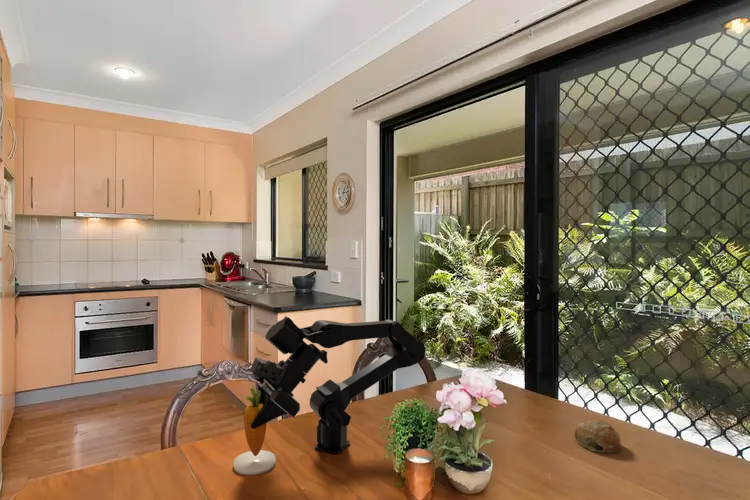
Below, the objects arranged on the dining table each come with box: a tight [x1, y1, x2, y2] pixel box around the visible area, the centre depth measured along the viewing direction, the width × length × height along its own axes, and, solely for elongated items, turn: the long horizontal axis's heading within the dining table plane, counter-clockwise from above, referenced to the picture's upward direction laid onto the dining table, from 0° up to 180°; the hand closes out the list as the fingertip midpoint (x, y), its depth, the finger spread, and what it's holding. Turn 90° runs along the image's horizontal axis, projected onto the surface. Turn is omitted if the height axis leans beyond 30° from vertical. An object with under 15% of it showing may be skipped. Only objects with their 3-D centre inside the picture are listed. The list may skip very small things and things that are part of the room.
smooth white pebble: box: [232, 449, 277, 476], centre depth 98 cm, size 9×9×1 cm
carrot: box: [243, 387, 268, 456], centre depth 98 cm, size 5×5×15 cm
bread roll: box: [574, 418, 621, 454], centre depth 109 cm, size 10×10×8 cm
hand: (249, 423), depth 97 cm, fingers closed on carrot, 5 cm apart
